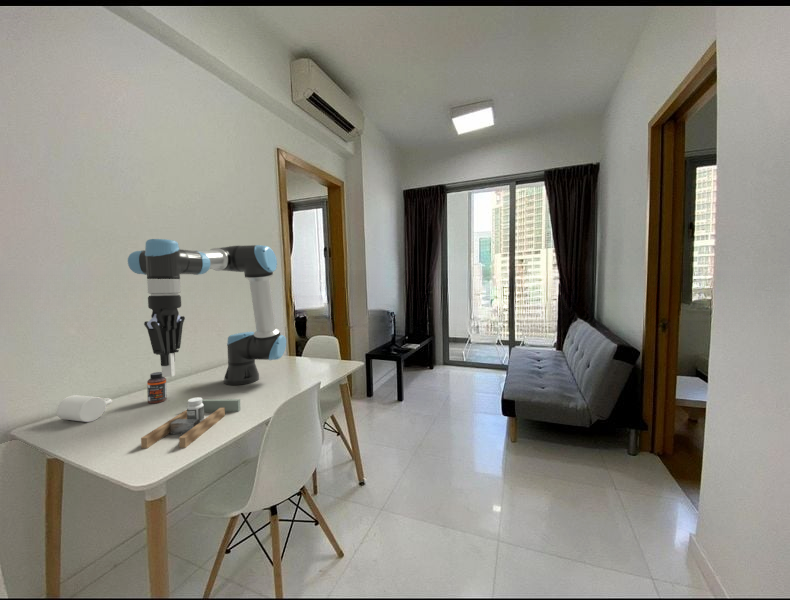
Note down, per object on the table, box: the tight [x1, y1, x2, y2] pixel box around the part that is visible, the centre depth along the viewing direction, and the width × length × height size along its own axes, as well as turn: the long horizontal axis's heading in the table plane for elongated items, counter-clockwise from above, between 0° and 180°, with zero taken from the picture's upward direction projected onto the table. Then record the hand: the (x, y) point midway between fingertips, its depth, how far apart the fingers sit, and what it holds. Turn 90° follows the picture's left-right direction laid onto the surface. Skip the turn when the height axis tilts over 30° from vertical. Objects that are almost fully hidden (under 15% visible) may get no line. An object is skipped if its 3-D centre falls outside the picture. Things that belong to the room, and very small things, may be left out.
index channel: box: [140, 408, 226, 449], centre depth 96 cm, size 21×12×3 cm, turn 2°
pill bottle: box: [186, 396, 205, 422], centre depth 100 cm, size 5×5×8 cm
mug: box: [55, 394, 113, 423], centre depth 106 cm, size 12×10×8 cm
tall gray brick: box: [170, 419, 200, 435], centre depth 95 cm, size 3×7×4 cm, turn 92°
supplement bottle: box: [146, 371, 168, 405], centre depth 120 cm, size 6×6×11 cm
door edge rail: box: [202, 398, 241, 413], centre depth 111 cm, size 2×18×4 cm, turn 92°
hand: (168, 375), depth 88 cm, fingers closed
